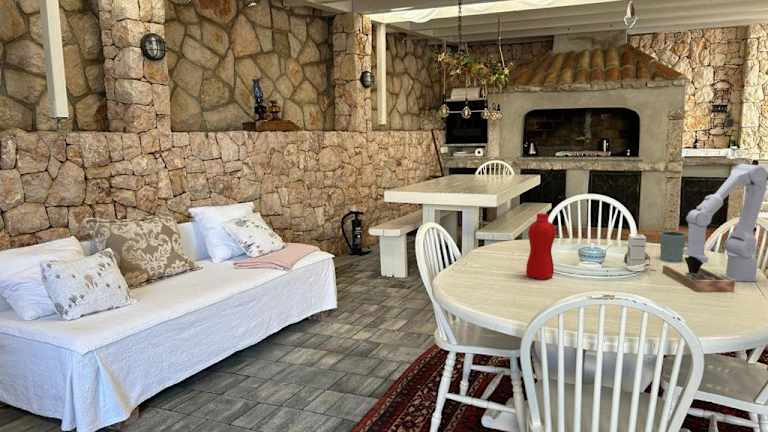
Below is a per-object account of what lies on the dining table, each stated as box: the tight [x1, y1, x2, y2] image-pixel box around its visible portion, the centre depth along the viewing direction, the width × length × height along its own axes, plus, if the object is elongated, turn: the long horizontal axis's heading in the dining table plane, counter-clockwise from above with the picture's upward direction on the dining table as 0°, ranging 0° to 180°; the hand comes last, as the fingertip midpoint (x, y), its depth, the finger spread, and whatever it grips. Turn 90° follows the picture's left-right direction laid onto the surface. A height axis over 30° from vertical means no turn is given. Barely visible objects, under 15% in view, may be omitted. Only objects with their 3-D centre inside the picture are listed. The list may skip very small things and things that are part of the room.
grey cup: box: [659, 230, 688, 263], centre depth 246 cm, size 10×10×12 cm
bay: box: [662, 265, 736, 293], centre depth 214 cm, size 13×25×4 cm, turn 179°
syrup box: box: [626, 233, 647, 273], centre depth 229 cm, size 6×6×14 cm
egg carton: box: [684, 271, 716, 281], centre depth 210 cm, size 11×8×4 cm
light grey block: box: [623, 251, 651, 263], centre depth 242 cm, size 10×10×8 cm
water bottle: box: [525, 212, 556, 281], centre depth 219 cm, size 9×11×25 cm
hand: (692, 276), depth 216 cm, fingers closed
